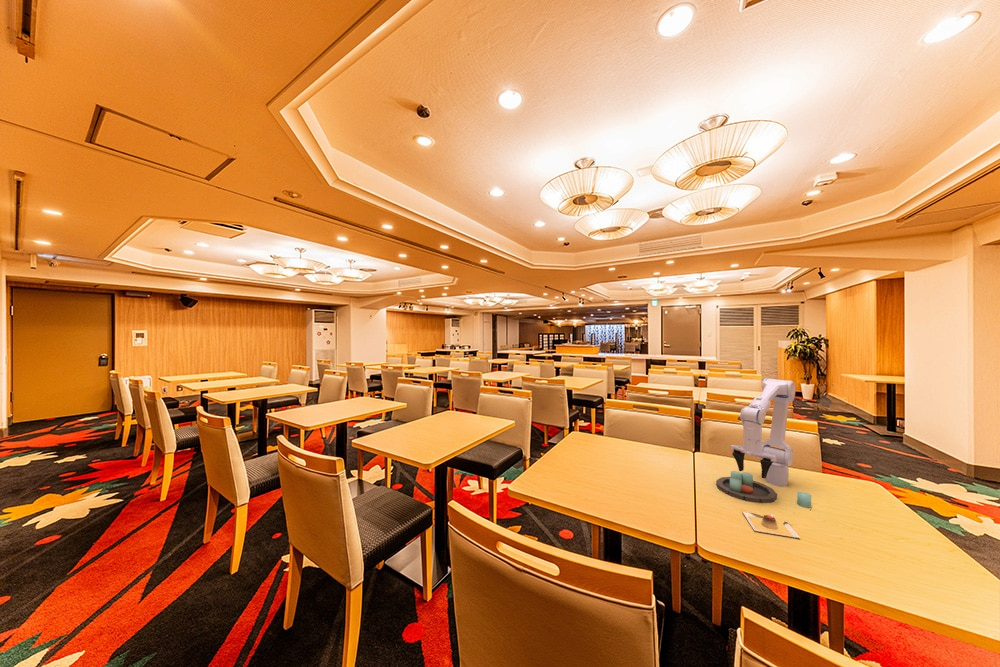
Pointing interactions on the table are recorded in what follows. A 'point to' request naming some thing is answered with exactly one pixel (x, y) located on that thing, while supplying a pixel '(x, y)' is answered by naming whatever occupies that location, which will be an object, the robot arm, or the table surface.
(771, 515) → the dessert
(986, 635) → the table surface
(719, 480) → the ring tray
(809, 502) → the bead
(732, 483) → the grey green cylinder
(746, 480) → the pale green cylinder
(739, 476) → the bead
